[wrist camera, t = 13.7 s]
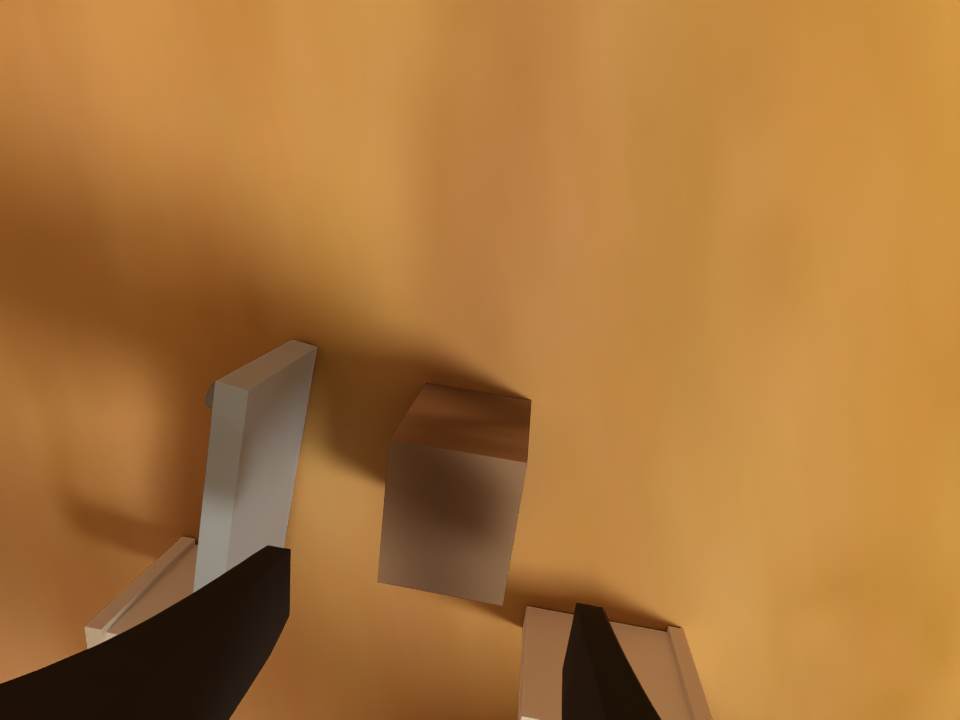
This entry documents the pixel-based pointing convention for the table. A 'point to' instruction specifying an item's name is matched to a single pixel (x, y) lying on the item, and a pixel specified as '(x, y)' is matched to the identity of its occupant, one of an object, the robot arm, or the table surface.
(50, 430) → the table surface
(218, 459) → the door
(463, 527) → the block
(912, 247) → the table surface
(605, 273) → the table surface
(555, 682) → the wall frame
